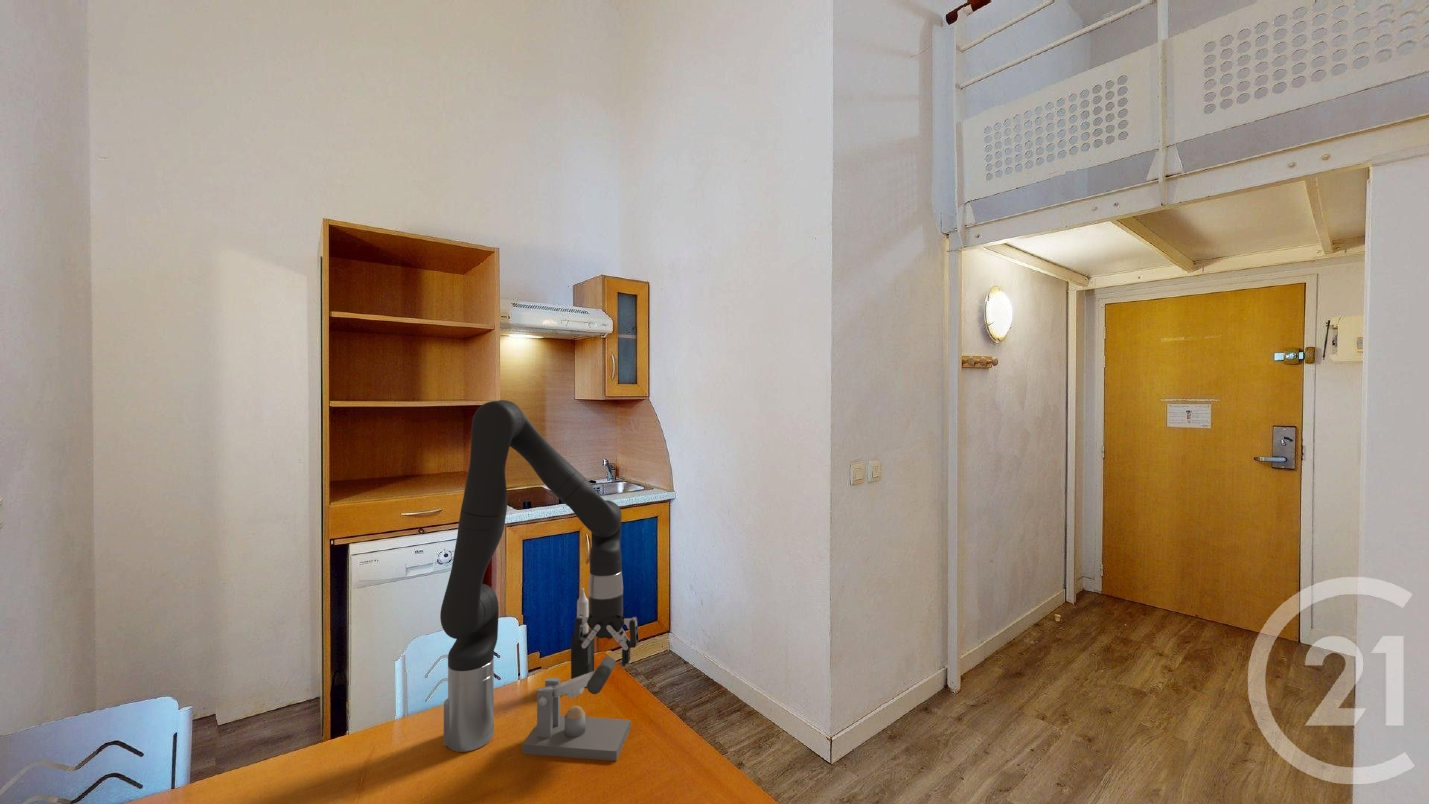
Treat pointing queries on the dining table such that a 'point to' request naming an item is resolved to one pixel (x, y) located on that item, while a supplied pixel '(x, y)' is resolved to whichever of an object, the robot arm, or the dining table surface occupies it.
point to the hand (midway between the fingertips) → (606, 663)
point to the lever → (586, 681)
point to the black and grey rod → (576, 650)
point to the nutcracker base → (584, 745)
